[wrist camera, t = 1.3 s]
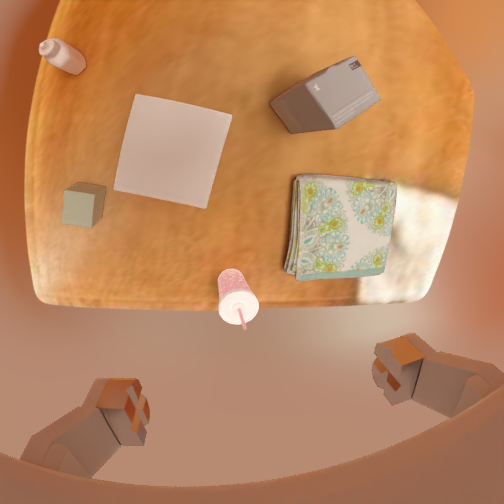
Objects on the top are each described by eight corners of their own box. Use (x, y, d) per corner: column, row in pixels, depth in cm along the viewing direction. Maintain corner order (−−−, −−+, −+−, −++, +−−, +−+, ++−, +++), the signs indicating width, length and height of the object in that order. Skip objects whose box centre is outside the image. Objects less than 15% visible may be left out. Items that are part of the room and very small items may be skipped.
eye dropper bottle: (63, 81, 32) (28, 70, 21) (61, 52, 30) (27, 34, 19) (87, 71, 32) (57, 56, 22) (85, 42, 30) (56, 20, 19)
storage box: (142, 98, 37) (135, 93, 31) (227, 117, 41) (232, 115, 35) (122, 182, 41) (113, 189, 36) (204, 199, 45) (206, 208, 40)
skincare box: (290, 134, 43) (336, 138, 29) (264, 98, 40) (301, 83, 26) (329, 108, 43) (386, 104, 28) (305, 73, 40) (356, 53, 25)
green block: (78, 182, 39) (64, 189, 34) (106, 186, 41) (94, 194, 35) (75, 212, 41) (62, 223, 35) (102, 216, 42) (91, 228, 37)
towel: (288, 171, 46) (299, 175, 42) (390, 179, 50) (406, 185, 46) (279, 271, 53) (288, 285, 49) (374, 265, 58) (388, 276, 53)
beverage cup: (223, 259, 50) (235, 304, 37) (253, 272, 52) (275, 318, 39) (207, 287, 51) (215, 338, 38) (237, 299, 53) (253, 349, 41)
